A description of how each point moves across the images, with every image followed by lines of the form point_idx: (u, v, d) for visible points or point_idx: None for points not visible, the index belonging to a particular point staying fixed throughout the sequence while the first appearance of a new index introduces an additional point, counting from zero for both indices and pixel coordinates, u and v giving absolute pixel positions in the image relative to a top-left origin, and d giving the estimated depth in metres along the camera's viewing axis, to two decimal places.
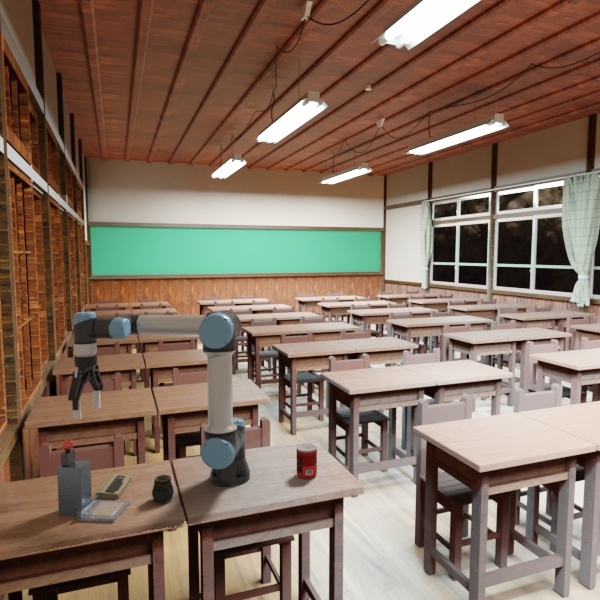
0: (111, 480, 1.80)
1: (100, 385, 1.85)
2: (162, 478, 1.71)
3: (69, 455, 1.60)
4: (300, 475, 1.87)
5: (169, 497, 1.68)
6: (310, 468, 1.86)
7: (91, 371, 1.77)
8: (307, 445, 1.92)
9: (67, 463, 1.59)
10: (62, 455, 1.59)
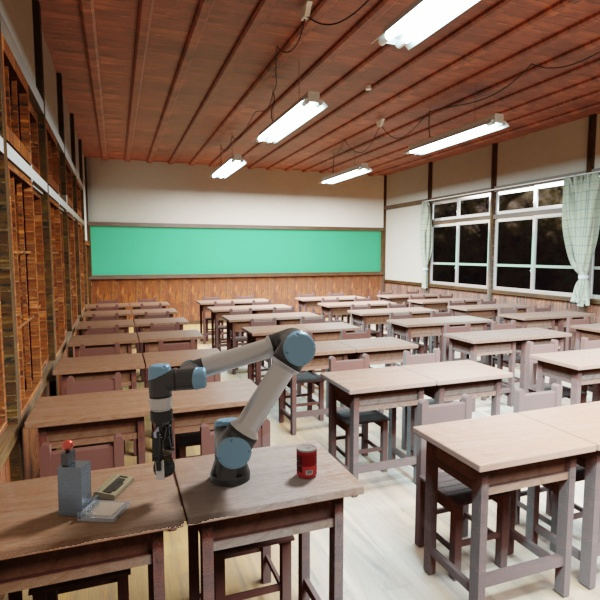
0: (112, 480, 1.80)
1: None
2: (163, 453, 1.71)
3: (69, 455, 1.60)
4: (300, 475, 1.87)
5: (170, 472, 1.67)
6: (310, 468, 1.86)
7: (167, 425, 1.69)
8: (307, 445, 1.92)
9: (67, 463, 1.59)
10: (62, 455, 1.59)
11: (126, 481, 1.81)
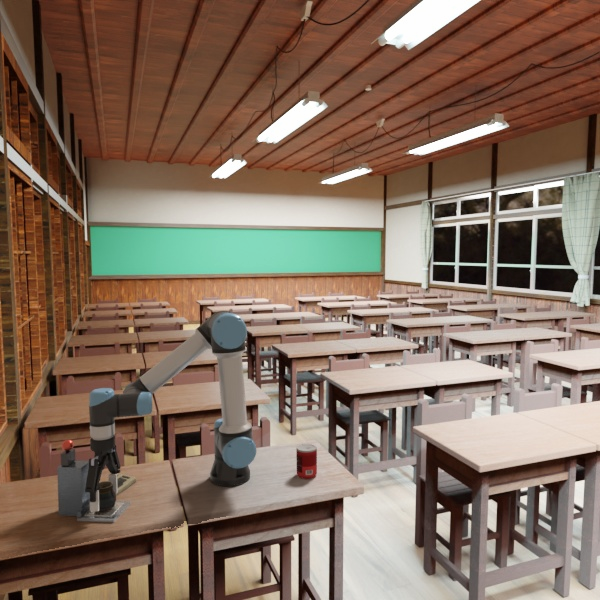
0: None
1: (117, 467, 1.68)
2: (104, 485, 1.63)
3: (69, 455, 1.60)
4: (300, 475, 1.87)
5: (110, 505, 1.59)
6: (310, 468, 1.86)
7: (108, 454, 1.60)
8: (307, 445, 1.92)
9: (67, 463, 1.59)
10: (62, 455, 1.59)
11: (127, 482, 1.80)
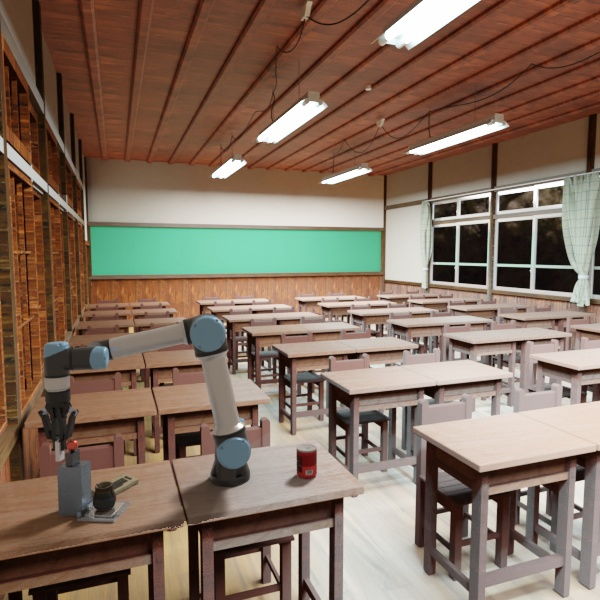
0: (115, 480, 1.80)
1: None
2: (104, 485, 1.63)
3: (74, 455, 1.60)
4: (300, 475, 1.87)
5: (110, 505, 1.59)
6: (310, 468, 1.86)
7: (57, 409, 1.59)
8: (307, 445, 1.92)
9: (72, 463, 1.59)
10: (67, 455, 1.59)
11: (127, 483, 1.79)
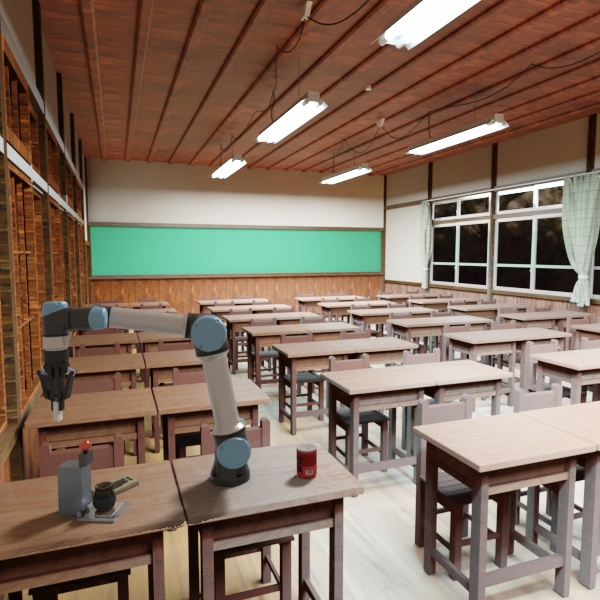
0: (116, 480, 1.80)
1: None
2: (104, 485, 1.63)
3: (87, 456, 1.59)
4: (300, 475, 1.87)
5: (110, 505, 1.59)
6: (310, 468, 1.86)
7: None
8: (307, 445, 1.92)
9: (85, 464, 1.58)
10: (80, 456, 1.58)
11: (127, 483, 1.79)
